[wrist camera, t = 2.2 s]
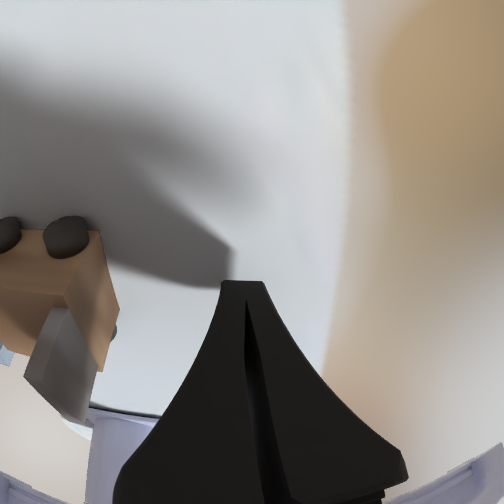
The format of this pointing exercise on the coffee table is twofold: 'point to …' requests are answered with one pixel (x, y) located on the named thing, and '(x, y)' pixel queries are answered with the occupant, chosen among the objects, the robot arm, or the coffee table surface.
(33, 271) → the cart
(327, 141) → the coffee table surface
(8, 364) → the bay
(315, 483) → the robot arm
